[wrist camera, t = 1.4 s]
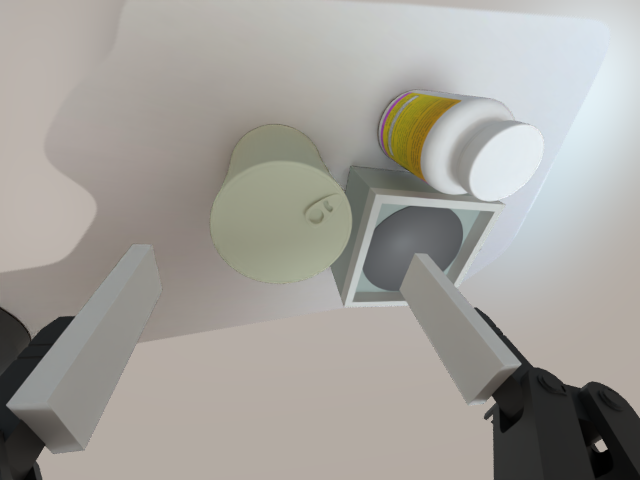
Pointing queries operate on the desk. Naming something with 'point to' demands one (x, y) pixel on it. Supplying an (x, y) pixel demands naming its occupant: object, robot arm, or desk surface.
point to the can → (279, 209)
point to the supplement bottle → (461, 143)
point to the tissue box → (405, 234)
